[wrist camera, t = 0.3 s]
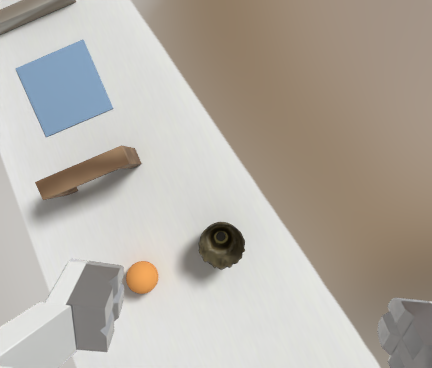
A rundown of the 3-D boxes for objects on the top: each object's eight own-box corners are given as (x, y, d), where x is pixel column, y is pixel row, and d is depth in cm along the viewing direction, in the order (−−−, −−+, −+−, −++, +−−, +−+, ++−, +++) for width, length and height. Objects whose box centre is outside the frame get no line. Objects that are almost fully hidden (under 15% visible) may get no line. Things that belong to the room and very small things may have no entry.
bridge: (141, 163, 63) (129, 163, 54) (67, 194, 64) (43, 200, 54) (134, 148, 63) (121, 145, 54) (61, 179, 63) (35, 182, 54)
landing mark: (113, 108, 63) (112, 108, 62) (46, 136, 63) (46, 136, 63) (83, 39, 62) (83, 39, 62) (16, 68, 62) (15, 68, 62)
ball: (165, 280, 64) (160, 291, 59) (137, 291, 65) (130, 303, 59) (153, 253, 64) (147, 261, 59) (125, 264, 64) (117, 273, 59)
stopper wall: (76, 1, 62) (69, -7, 59) (-7, 37, 62) (-19, 31, 59) (71, -10, 62) (64, -19, 59) (-12, 26, 62) (-24, 19, 59)
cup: (192, 239, 64) (189, 250, 56) (216, 207, 64) (217, 214, 56) (224, 264, 64) (226, 278, 56) (249, 232, 64) (254, 242, 56)
